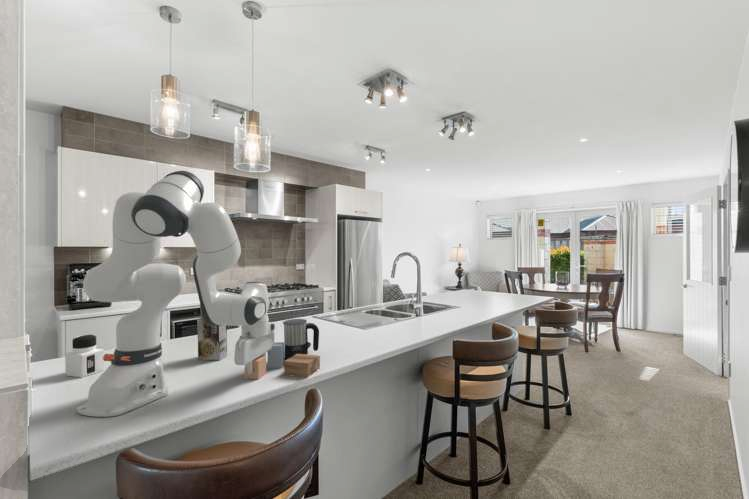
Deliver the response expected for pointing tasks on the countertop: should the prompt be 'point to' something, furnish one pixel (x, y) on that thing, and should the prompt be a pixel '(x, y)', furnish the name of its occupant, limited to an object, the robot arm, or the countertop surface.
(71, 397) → the countertop surface
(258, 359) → the terracotta block
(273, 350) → the slate block
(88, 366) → the container
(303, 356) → the walnut block
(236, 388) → the countertop surface
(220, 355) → the coffee box
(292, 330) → the milk frother
